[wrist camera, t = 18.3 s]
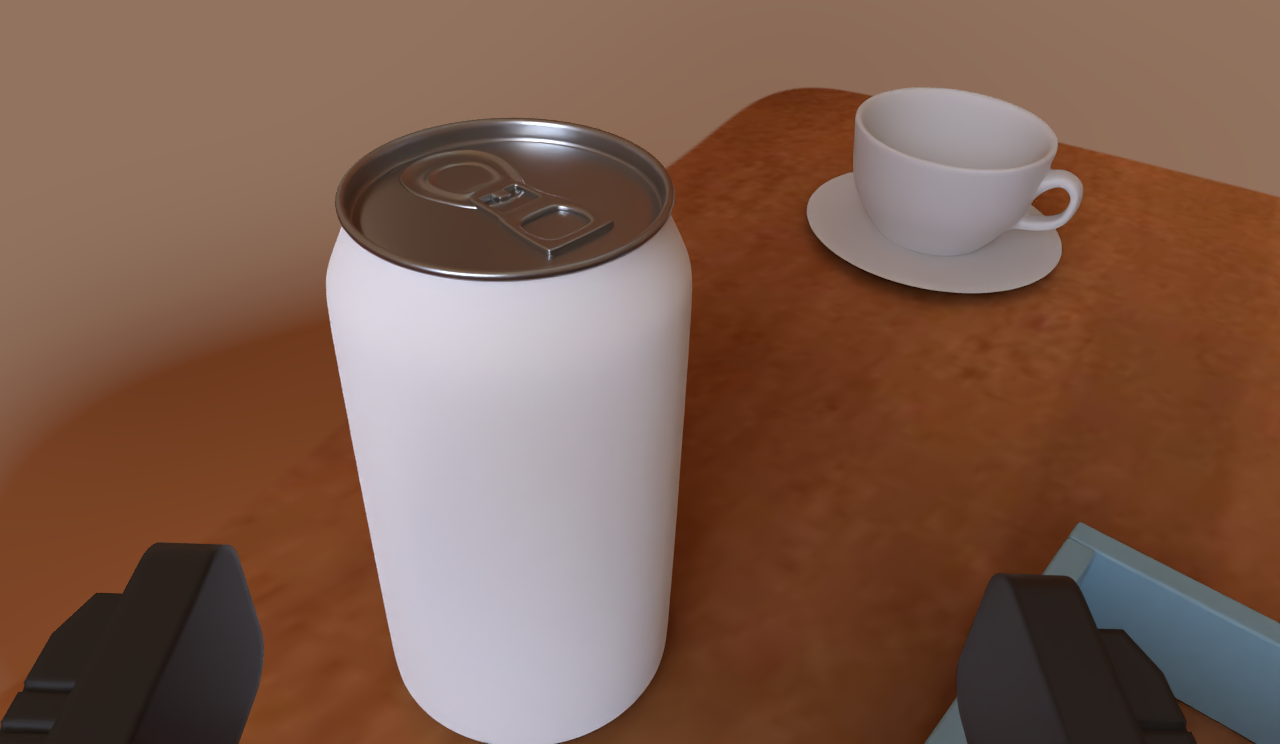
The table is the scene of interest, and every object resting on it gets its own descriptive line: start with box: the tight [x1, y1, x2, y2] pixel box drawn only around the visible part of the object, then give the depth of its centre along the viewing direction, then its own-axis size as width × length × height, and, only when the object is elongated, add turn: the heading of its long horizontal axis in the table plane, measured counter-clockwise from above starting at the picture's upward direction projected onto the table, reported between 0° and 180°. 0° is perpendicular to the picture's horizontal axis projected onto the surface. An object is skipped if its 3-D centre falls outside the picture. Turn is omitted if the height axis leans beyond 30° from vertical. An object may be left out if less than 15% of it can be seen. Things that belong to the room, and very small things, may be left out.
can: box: [326, 118, 692, 744], centre depth 20 cm, size 6×6×12 cm
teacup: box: [807, 87, 1083, 293], centre depth 39 cm, size 10×10×5 cm
